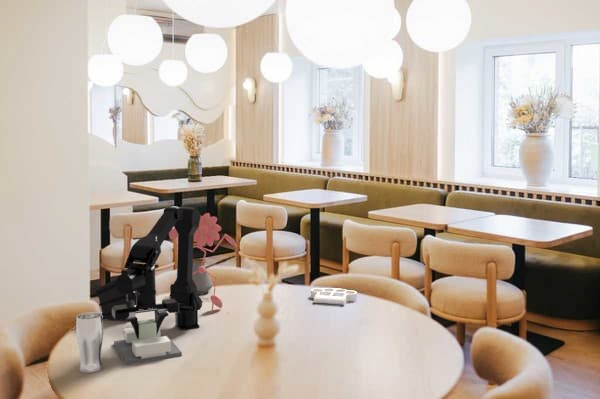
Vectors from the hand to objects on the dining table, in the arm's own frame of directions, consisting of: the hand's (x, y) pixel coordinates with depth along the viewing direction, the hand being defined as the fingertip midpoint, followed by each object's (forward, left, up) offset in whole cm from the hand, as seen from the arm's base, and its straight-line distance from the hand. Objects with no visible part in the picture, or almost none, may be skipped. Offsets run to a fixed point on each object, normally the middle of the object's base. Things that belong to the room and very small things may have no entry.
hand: (146, 337), depth 185 cm
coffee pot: (-37, -53, -4) cm, 65 cm away
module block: (0, 0, -1) cm, 1 cm away
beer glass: (+17, +8, -4) cm, 19 cm away
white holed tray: (-76, -23, -5) cm, 80 cm away
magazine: (+3, -34, -4) cm, 34 cm away
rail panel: (0, 0, -4) cm, 4 cm away
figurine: (-29, -34, -4) cm, 45 cm away
